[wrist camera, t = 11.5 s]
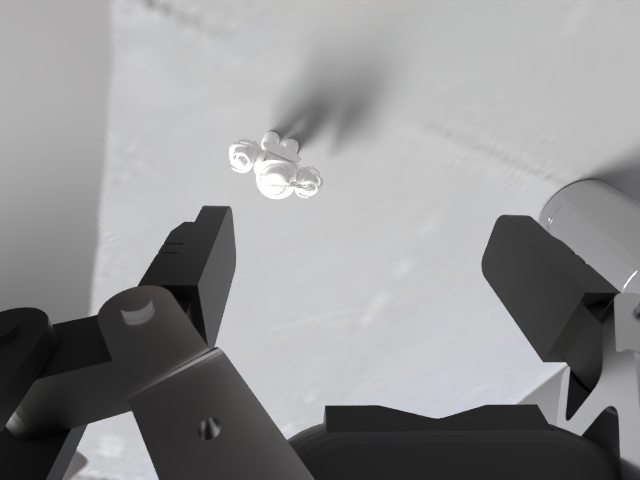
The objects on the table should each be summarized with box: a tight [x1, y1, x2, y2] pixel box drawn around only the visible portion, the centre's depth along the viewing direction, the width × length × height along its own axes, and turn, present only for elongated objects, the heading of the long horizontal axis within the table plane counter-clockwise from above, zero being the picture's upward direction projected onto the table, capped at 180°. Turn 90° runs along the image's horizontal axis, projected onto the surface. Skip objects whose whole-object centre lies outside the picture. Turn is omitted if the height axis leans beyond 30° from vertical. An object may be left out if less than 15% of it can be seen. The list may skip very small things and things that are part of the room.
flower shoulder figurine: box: [229, 131, 323, 199], centre depth 34 cm, size 9×4×12 cm, turn 65°
